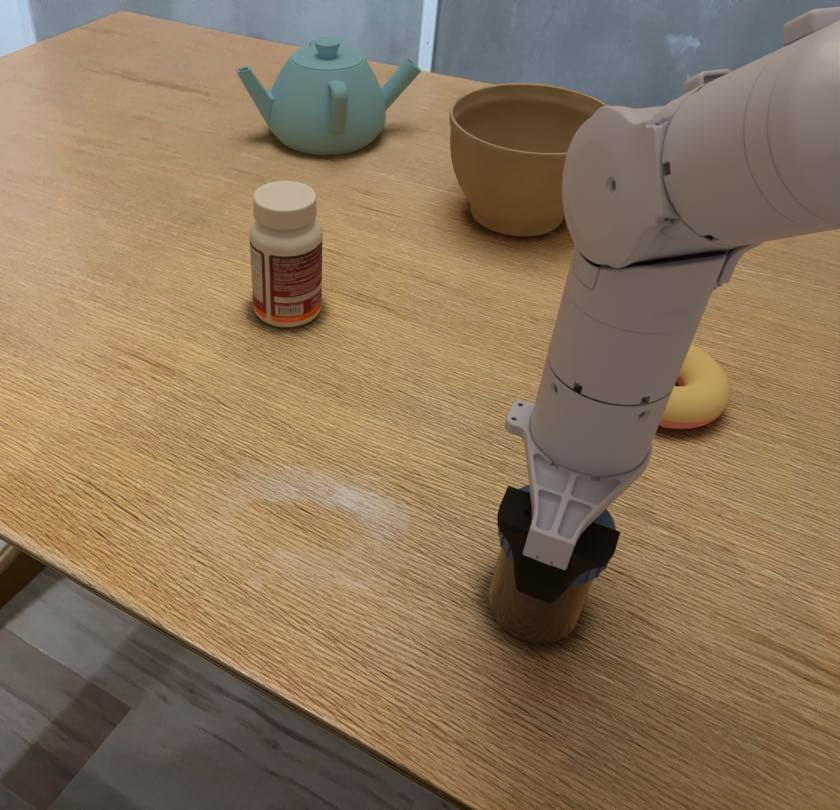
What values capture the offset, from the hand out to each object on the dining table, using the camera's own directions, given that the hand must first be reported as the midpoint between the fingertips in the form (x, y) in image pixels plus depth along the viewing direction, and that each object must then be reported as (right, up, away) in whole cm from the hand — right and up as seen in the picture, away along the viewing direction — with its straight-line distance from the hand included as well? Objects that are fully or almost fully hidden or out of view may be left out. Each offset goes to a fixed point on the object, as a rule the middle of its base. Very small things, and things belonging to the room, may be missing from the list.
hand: (550, 549), depth 47 cm
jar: (0, -4, +4) cm, 6 cm away
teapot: (-11, +41, +55) cm, 69 cm away
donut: (+14, +9, +18) cm, 25 cm away
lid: (0, +1, -1) cm, 2 cm away
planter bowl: (+8, +28, +40) cm, 49 cm away
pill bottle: (-16, +17, +27) cm, 35 cm away
